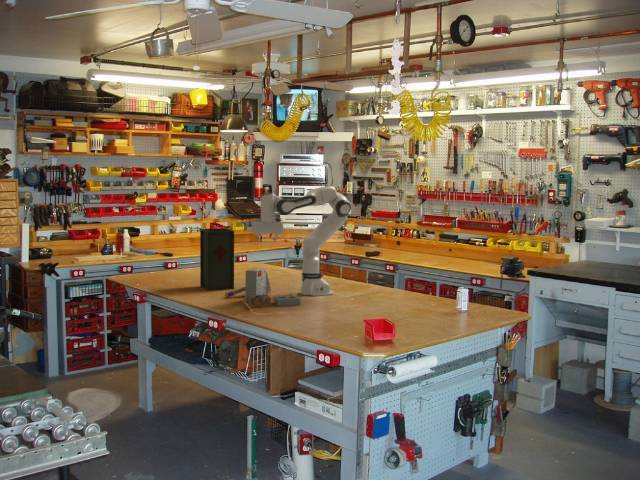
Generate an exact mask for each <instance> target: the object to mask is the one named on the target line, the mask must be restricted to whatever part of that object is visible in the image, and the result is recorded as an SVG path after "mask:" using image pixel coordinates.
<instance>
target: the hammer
mask: <svg viewBox="0 0 640 480" xmlns="http://www.w3.org/2000/svg"><path fill="white" fill-rule="evenodd" d="M270 284H271V283H270V281H269V275H268V272H267V271H266V295H268V294H269V293H271V291H272V289H271V285H270ZM242 292H245V286H243V287H240V288H238V289H233V290H231V291H229V292H225V293H224V297H225V298H226V299H228V298H230V297H233V296H235V295H237V294H240V293H242Z"/></svg>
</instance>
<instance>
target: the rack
mask: <svg viewBox="0 0 640 480" xmlns="http://www.w3.org/2000/svg"><path fill="white" fill-rule="evenodd" d="M247 305H248V307H249V308H250V309H251V310H252V309H253V308H261V307H263V308H264V307H267V308H268V307H272V297H271V296H270V295H269V294H266V295H263V297H262V298H257V295H248V301H247Z"/></svg>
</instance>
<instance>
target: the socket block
mask: <svg viewBox="0 0 640 480" xmlns="http://www.w3.org/2000/svg"><path fill="white" fill-rule="evenodd" d="M273 303H274V304H275V305H276V307H285V306H287V307H288V306H289V307H290V306H291V307H292V306H301V298H300V297H299V296H298V295H297V296H296V298H292V297H291V295H274V296H273Z"/></svg>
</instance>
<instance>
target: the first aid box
mask: <svg viewBox="0 0 640 480" xmlns="http://www.w3.org/2000/svg"><path fill="white" fill-rule="evenodd" d="M199 231H200V232H199V235H200V236H199V237H200V239H199V240H200V244H199V250H200V252H199V253H200V255H199V256H200V259H199V260H200V261H199V262H200V266H199V267H200V268H199V269H200V271H199V272H200V273H199V274H200V275H199V277H200V280H199V282H200V284H199V287H200V288H202V287H203V288H202V289H204V290H206V291H208V292H211V291H212V292H213V291H225V290H226V291H228V290H235V230H232V229H229V228H225V227H224V228H200V230H199Z"/></svg>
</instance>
